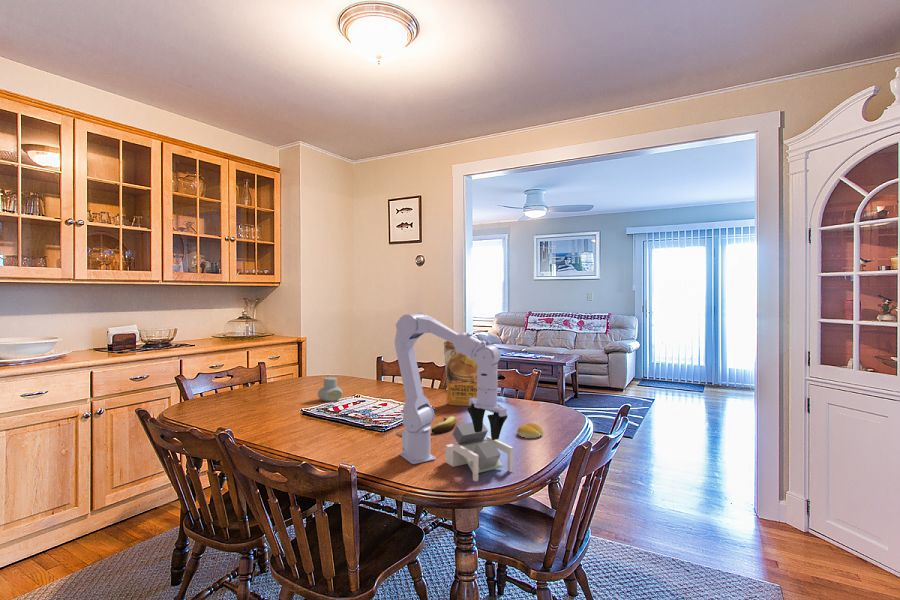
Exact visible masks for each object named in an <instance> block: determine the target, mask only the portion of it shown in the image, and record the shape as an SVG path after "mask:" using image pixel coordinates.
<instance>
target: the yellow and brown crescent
mask: <svg viewBox="0 0 900 600" xmlns="http://www.w3.org/2000/svg"><path fill="white" fill-rule="evenodd" d="M443 420H444V421H443V422H439V423H436V424H434V426H432V428H431V429H430V431H431V433H432V434H433V433H434V434H437V435H438V434H439V435H440V434H443V433H447V432H450V431H451V430H452V429H453V428H455V427H456V424H457V422H458V421H457V417H455V416H448V417H447V418H446V417H444V418H443ZM402 433H403V431H398V432H396V435H397V436H399V437H402ZM432 440H433V441H436V438H430V442H431V441H432ZM453 443H454V442H452V443H451V444H453Z"/></svg>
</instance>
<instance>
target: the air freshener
mask: <svg viewBox="0 0 900 600" xmlns="http://www.w3.org/2000/svg"><path fill="white" fill-rule="evenodd" d="M343 394H344V391H343V390H342V388H340V387H339V386H338V378H337V377H336V376H335V377H334V376H327V377H326V376H325V377H324V378H323V387H321V388H320V389H319V390H318V391H317V397H318V398H319V399H320V400H322V401H324V402H328V403H329V402H331V403H332V402H336V401H338V400H339V399H341V398H342V397H343Z"/></svg>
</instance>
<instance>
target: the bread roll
mask: <svg viewBox="0 0 900 600" xmlns="http://www.w3.org/2000/svg"><path fill="white" fill-rule="evenodd" d="M516 434H517V435H518V436H519V437H520V436H521V437H520V438H522V437H526V438H525V439H527V438H536V437H539V438H541V437H542V436H543V435H544V431H543V428H542V427H541V425H538V424H536V423H533V422H529V423H526V424H524V425H520V426H519V427H518V429H517V431H516ZM540 436H541V437H540ZM536 439H537V438H536Z"/></svg>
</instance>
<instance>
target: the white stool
mask: <svg viewBox="0 0 900 600" xmlns="http://www.w3.org/2000/svg"><path fill="white" fill-rule="evenodd" d="M486 439H488V441H492V442H493V444H494V445H495V447H496V448H497V449H498V451H499V450H500V451H501V452H504V453H506V454H507V466H506V467H507V468H506V469H507V472H508V471H509V472H508V473H513V472H512V471H514V447H513V446H511V445H509V444H507V443H504V441H500V440H499V439H497V440H492V439H491V435H486ZM452 443H453V444H452ZM452 443H450V444H446V445H445V463H446V464H448V465H449V466H450V467H452V468H453V467H458V466H459V467H460V466H462V465H468V464H467V462H466V460H465V458H464V457H466V458H468V459H469V460H471V461H473V472H472V481H474V482H479V473H478V464H479V455H477V454H476V453H474V452H472V451H470V450H468V449H467V448H465V447H463V446H461V445H459V444H458V443H457V442H452Z"/></svg>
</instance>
